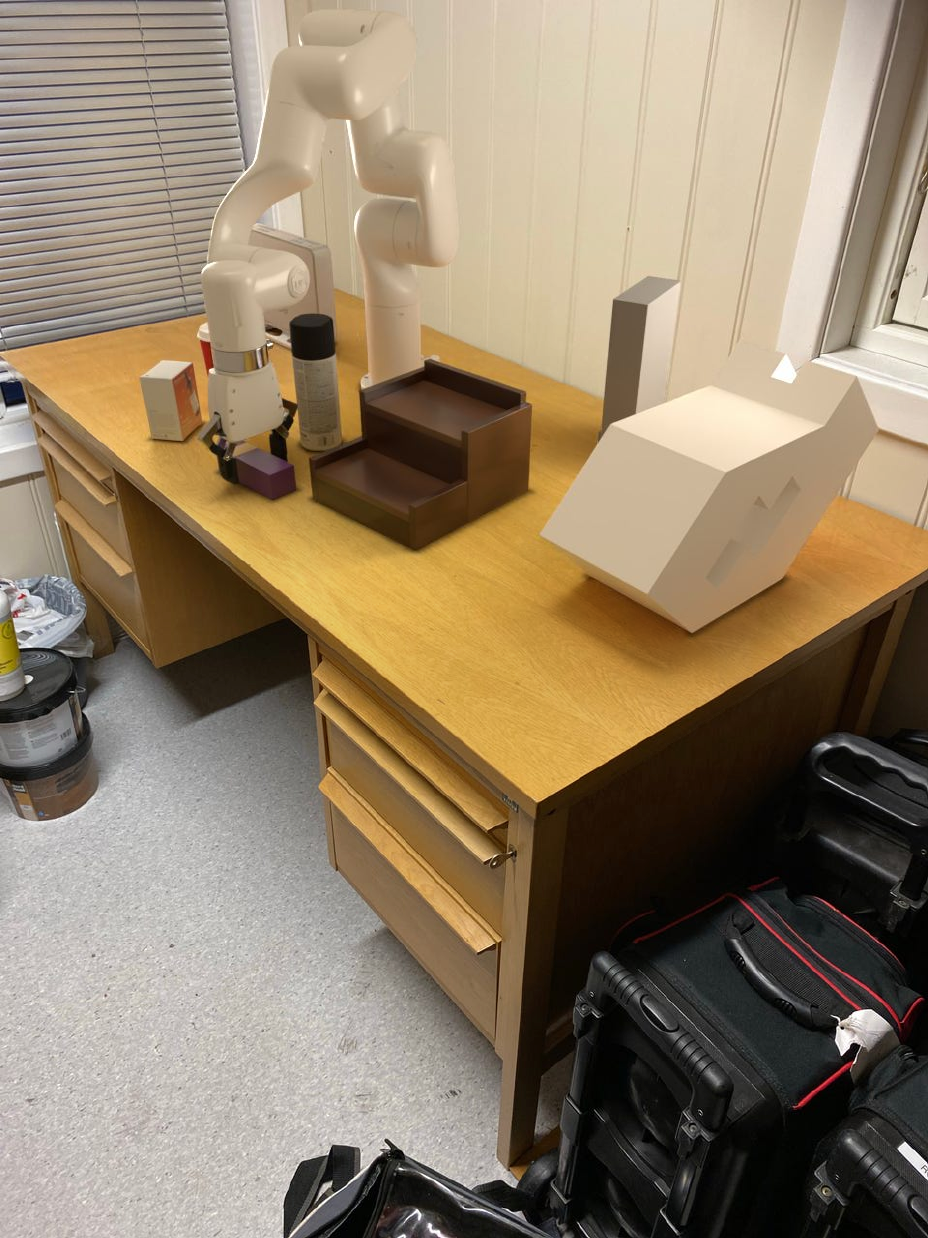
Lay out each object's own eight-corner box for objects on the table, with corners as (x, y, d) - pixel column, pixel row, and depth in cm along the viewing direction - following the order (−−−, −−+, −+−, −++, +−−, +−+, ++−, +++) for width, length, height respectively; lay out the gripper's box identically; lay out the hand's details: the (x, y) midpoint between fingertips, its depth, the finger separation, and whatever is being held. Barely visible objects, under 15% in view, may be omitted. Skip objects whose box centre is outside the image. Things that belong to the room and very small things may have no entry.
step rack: (425, 448, 152) (423, 356, 143) (528, 491, 140) (533, 393, 132) (312, 498, 138) (302, 400, 130) (415, 550, 126) (412, 446, 118)
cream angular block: (647, 594, 101) (830, 311, 100) (539, 534, 111) (704, 277, 110) (726, 663, 121) (879, 429, 120) (629, 608, 131) (769, 392, 130)
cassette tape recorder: (626, 429, 158) (643, 274, 144) (661, 437, 156) (682, 280, 141) (592, 461, 148) (606, 298, 134) (629, 470, 146) (648, 305, 131)
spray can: (349, 438, 155) (340, 314, 144) (331, 455, 150) (321, 328, 138) (312, 432, 157) (300, 310, 145) (293, 449, 152) (279, 323, 140)
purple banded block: (243, 462, 148) (239, 438, 145) (296, 489, 140) (294, 464, 138) (219, 472, 145) (215, 447, 143) (272, 500, 138) (269, 474, 135)
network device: (241, 327, 200) (228, 226, 188) (277, 318, 205) (266, 219, 193) (313, 359, 185) (303, 251, 173) (349, 348, 189) (342, 243, 178)
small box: (183, 442, 154) (171, 379, 148) (150, 439, 154) (138, 376, 148) (203, 422, 160) (193, 361, 154) (172, 419, 161) (161, 358, 155)
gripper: (274, 335, 139) (286, 445, 149) (170, 366, 129) (191, 482, 139) (307, 347, 135) (317, 460, 145) (202, 380, 124) (221, 499, 134)
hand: (255, 470), depth 142 cm, fingers open, 8 cm apart
